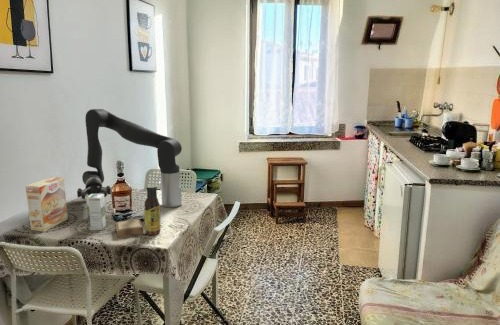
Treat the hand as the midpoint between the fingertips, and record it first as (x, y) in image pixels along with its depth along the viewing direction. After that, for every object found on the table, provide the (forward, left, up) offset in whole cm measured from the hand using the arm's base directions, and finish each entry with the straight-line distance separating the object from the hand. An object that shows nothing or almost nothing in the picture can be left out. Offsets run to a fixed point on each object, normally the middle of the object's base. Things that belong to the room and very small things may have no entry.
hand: (94, 196), depth 167 cm
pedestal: (-12, +20, -11) cm, 26 cm away
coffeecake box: (+19, -1, -11) cm, 22 cm away
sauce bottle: (-21, +25, -11) cm, 35 cm away
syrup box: (0, +11, -11) cm, 16 cm away
